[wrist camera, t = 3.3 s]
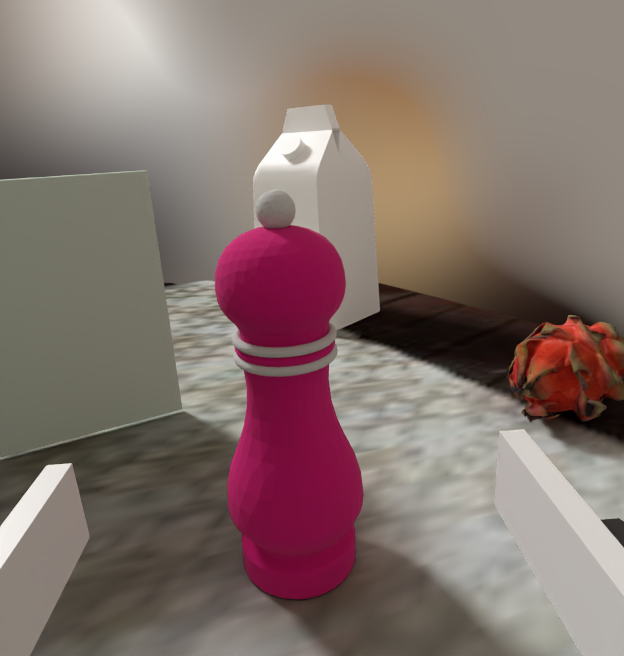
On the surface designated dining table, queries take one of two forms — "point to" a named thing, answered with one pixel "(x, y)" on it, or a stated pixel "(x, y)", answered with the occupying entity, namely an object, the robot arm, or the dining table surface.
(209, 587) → the dining table surface
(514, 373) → the dragon fruit
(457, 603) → the dining table surface
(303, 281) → the pepper mill
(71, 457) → the dining table surface
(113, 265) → the door
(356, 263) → the milk
